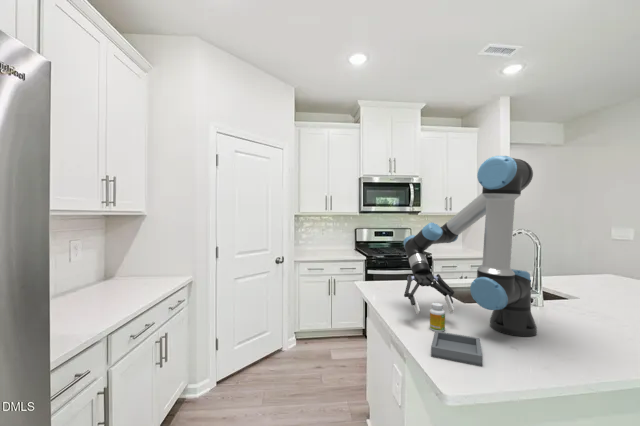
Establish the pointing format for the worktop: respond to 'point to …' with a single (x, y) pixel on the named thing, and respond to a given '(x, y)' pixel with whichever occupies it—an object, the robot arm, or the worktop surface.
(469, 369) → the worktop surface
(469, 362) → the tray
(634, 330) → the worktop surface
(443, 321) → the supplement bottle
